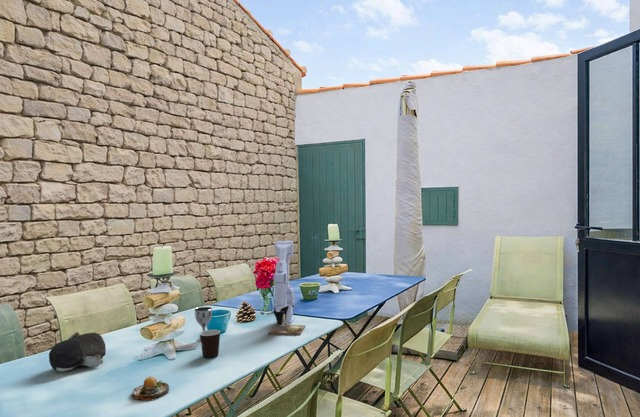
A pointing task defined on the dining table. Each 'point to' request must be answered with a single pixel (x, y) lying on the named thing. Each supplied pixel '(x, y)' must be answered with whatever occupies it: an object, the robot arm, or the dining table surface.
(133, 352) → the dining table surface
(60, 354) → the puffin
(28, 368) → the dining table surface
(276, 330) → the plate
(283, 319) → the planet hub
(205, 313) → the wine glass
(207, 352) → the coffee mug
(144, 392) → the brimmed hat
